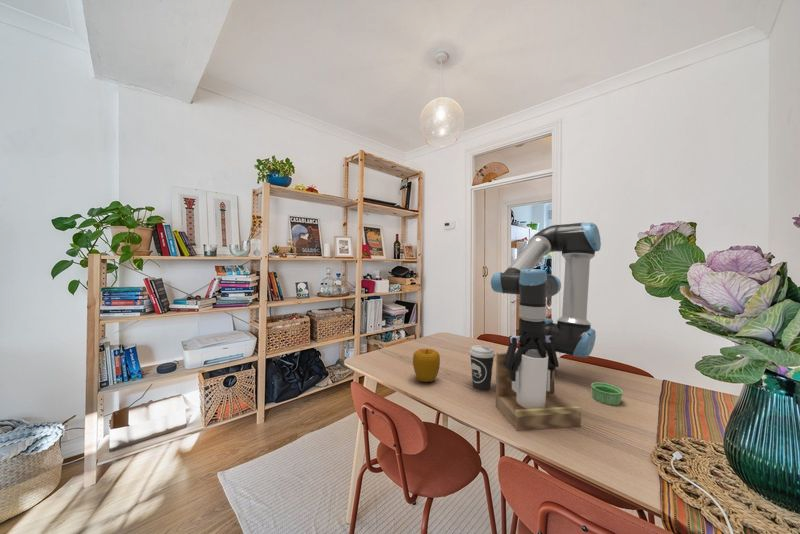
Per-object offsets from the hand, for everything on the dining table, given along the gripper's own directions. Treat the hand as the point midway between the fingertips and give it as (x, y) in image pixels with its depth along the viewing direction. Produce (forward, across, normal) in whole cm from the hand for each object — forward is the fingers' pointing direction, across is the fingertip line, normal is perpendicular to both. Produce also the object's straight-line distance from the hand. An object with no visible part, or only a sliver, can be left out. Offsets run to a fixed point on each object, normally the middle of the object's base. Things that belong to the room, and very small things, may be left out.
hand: (530, 389), depth 89 cm
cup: (+4, 0, 0) cm, 4 cm away
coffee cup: (+9, +7, -21) cm, 24 cm away
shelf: (+8, -2, 0) cm, 9 cm away
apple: (+9, +27, -29) cm, 41 cm away
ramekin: (+9, -33, -7) cm, 35 cm away
